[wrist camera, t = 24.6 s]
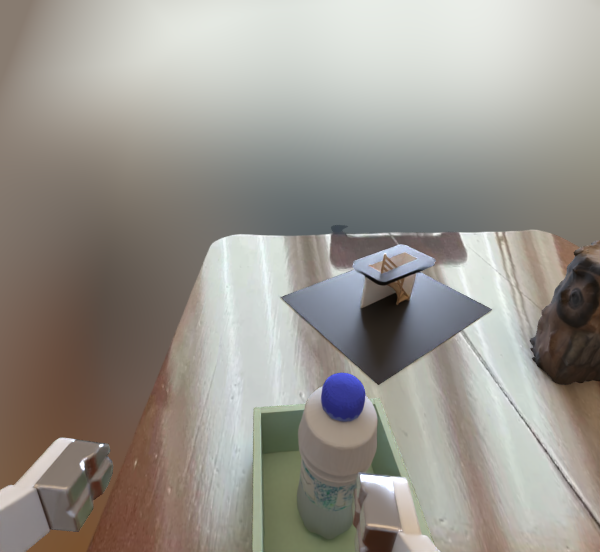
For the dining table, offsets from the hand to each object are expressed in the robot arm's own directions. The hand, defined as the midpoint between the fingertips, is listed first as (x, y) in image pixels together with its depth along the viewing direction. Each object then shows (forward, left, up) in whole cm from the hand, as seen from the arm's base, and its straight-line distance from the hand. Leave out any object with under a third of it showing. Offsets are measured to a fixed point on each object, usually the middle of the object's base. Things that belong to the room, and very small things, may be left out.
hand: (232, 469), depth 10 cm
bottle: (+7, +10, -29) cm, 31 cm away
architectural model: (+27, +47, -30) cm, 62 cm away
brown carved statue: (+53, +28, -30) cm, 67 cm away
